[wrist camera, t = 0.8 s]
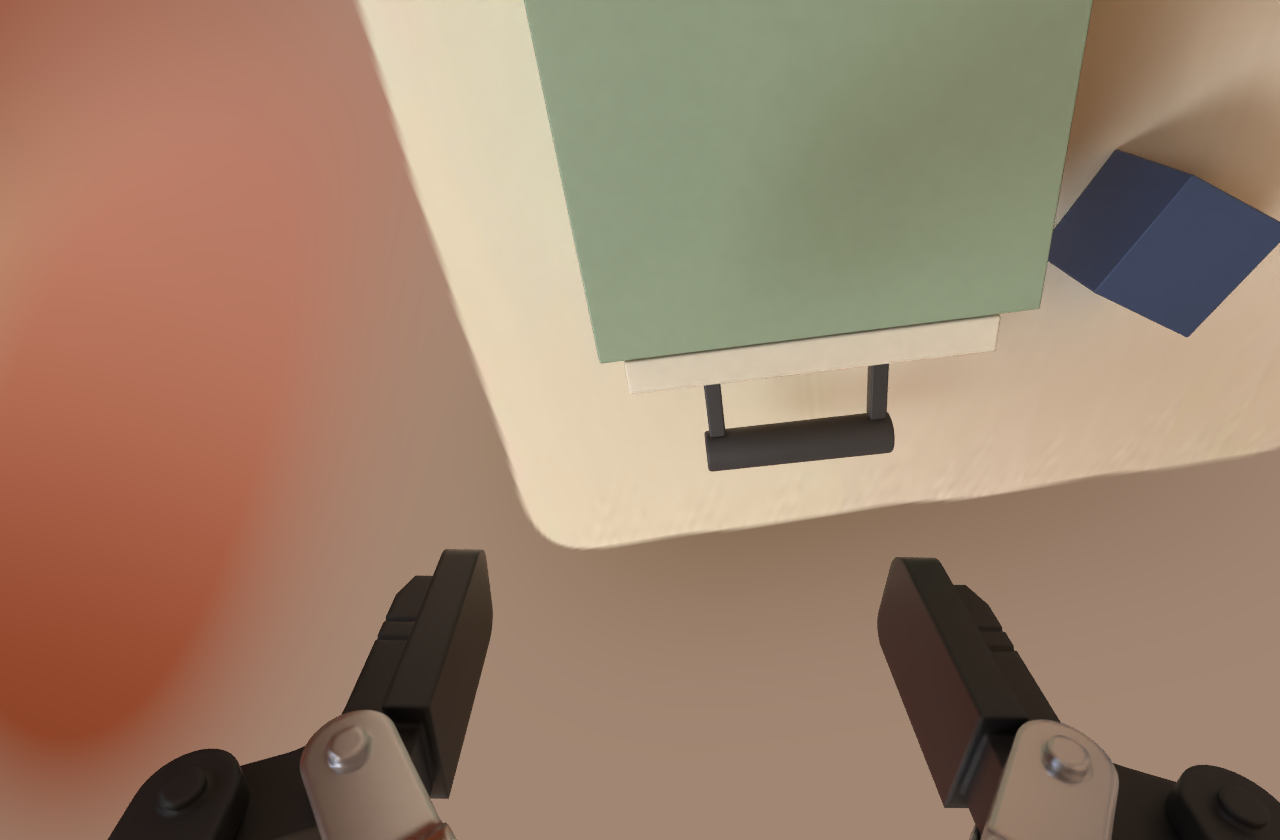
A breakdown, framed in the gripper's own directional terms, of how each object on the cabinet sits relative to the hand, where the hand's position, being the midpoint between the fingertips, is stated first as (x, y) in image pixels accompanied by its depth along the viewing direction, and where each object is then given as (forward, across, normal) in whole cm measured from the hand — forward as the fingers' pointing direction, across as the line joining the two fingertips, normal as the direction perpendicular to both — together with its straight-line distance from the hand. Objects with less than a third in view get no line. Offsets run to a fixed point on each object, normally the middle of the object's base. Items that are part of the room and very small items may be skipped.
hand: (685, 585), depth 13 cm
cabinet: (+17, -3, -10) cm, 20 cm away
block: (+17, -18, -3) cm, 25 cm away
